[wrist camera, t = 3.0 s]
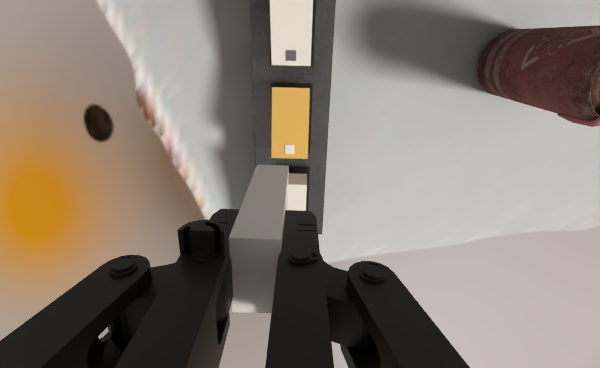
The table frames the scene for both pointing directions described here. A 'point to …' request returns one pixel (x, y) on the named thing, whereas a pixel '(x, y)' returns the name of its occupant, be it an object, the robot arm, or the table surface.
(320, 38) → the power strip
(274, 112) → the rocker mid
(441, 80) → the table surface
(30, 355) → the robot arm
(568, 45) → the can
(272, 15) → the rocker
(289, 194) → the rocker
